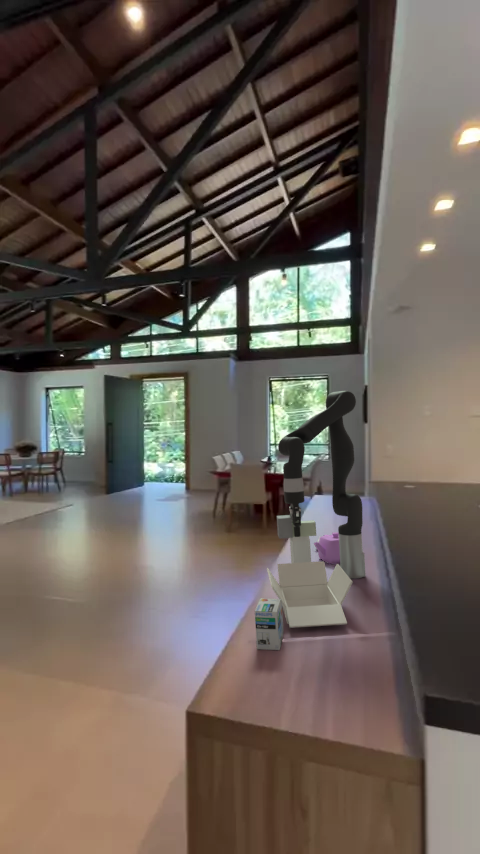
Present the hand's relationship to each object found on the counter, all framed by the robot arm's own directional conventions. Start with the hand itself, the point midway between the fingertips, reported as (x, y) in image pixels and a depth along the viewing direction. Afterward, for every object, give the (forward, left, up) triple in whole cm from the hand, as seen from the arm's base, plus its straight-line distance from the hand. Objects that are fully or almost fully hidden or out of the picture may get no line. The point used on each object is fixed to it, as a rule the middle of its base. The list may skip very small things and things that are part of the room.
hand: (296, 535), depth 176 cm
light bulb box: (+14, +41, -21) cm, 48 cm away
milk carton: (-4, -19, -21) cm, 29 cm away
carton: (0, +23, -21) cm, 31 cm away
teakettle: (-23, -38, -21) cm, 49 cm away
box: (0, 0, 0) cm, 0 cm away
